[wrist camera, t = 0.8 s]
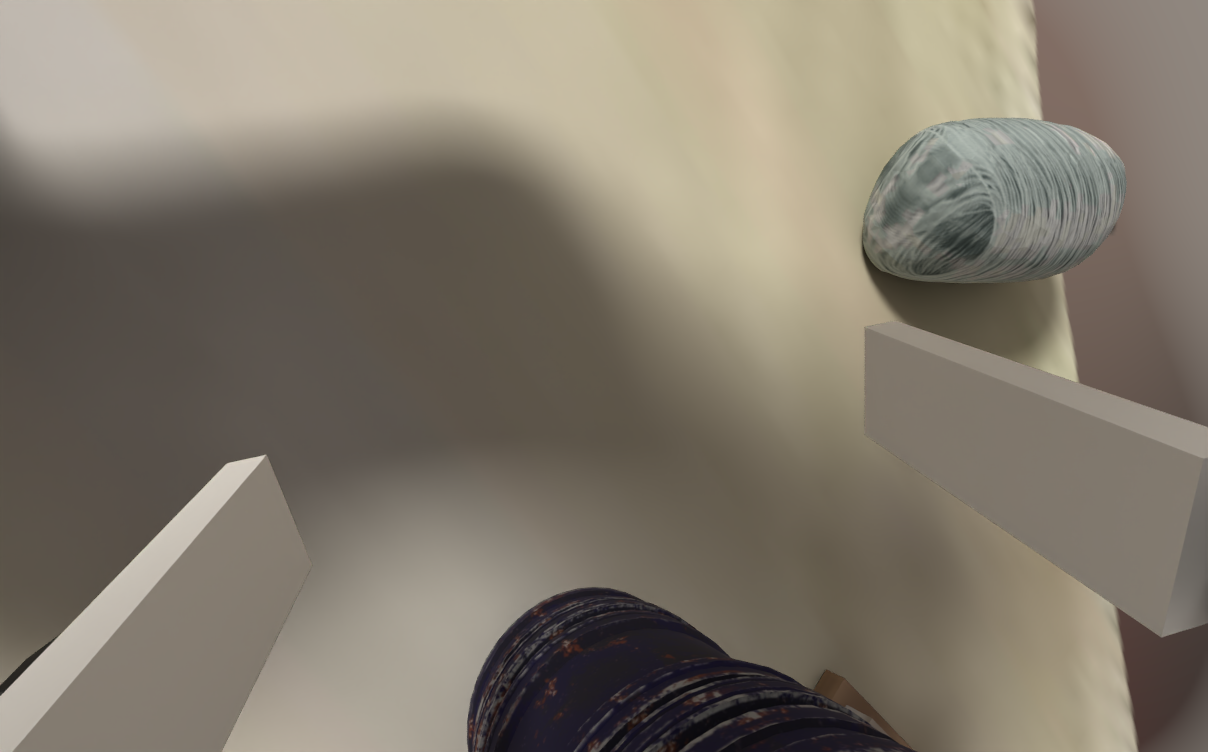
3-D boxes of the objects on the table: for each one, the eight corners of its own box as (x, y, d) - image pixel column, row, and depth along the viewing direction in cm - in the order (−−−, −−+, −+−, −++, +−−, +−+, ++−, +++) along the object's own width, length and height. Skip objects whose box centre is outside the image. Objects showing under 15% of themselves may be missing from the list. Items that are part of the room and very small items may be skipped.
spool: (893, 321, 28) (1111, 146, 21) (801, 195, 32) (954, 21, 26) (1014, 344, 35) (1202, 220, 28) (925, 239, 40) (1067, 112, 33)
